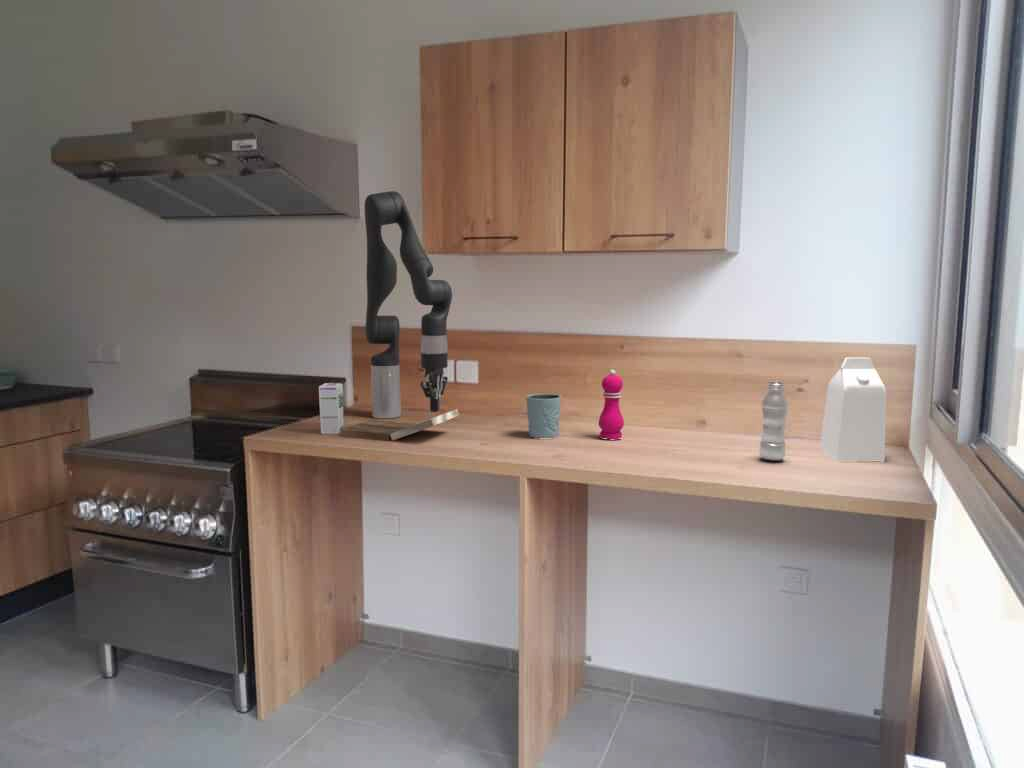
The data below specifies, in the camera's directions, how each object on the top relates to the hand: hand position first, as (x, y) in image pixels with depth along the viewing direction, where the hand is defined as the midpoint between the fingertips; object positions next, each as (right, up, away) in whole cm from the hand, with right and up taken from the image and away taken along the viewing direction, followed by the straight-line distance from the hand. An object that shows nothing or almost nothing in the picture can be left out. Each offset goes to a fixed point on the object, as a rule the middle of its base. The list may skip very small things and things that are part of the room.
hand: (434, 411), depth 215 cm
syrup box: (-31, -7, +9) cm, 33 cm away
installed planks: (-17, -7, +8) cm, 20 cm away
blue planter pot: (+31, -8, +4) cm, 32 cm away
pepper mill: (+51, -8, +2) cm, 51 cm away
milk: (+111, -11, -18) cm, 113 cm away
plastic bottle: (+89, -12, -23) cm, 92 cm away
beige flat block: (-3, -5, +2) cm, 6 cm away
